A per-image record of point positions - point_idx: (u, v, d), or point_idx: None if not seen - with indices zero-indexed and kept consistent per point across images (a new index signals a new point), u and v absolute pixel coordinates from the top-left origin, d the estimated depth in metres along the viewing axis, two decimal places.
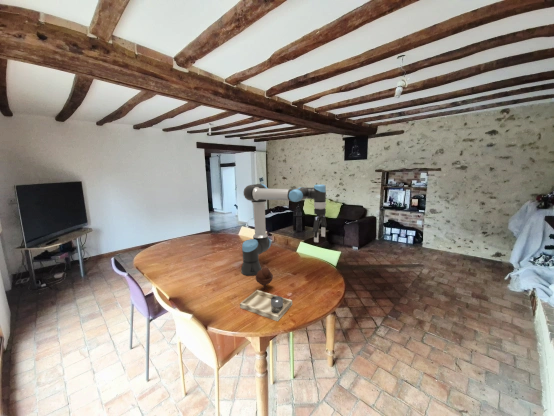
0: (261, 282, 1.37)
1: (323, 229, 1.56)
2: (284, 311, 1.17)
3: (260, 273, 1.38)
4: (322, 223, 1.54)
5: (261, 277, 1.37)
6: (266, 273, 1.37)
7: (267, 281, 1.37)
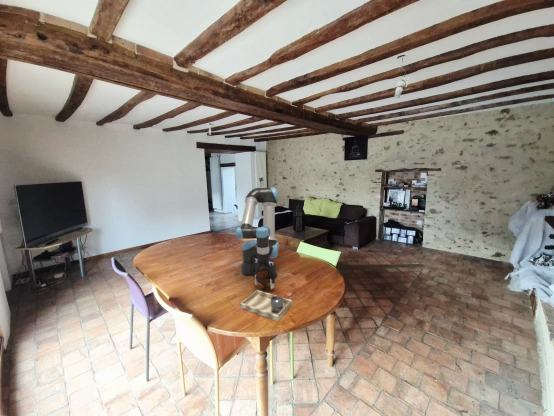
0: (261, 282, 1.37)
1: None
2: (284, 311, 1.17)
3: (260, 273, 1.38)
4: None
5: (261, 277, 1.37)
6: (266, 273, 1.37)
7: (267, 281, 1.37)
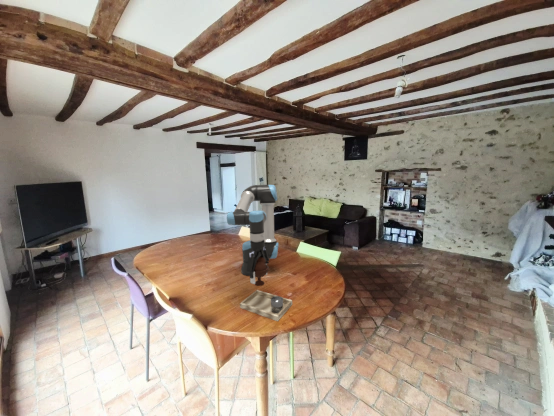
0: (267, 271, 1.21)
1: None
2: (284, 311, 1.17)
3: (262, 263, 1.20)
4: None
5: (265, 266, 1.21)
6: None
7: None
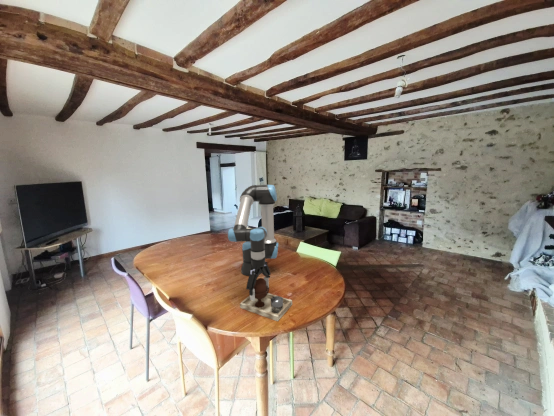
0: (267, 292, 1.23)
1: (266, 280, 1.29)
2: (284, 311, 1.17)
3: (263, 285, 1.21)
4: (264, 273, 1.27)
5: (266, 287, 1.22)
6: (265, 281, 1.25)
7: None
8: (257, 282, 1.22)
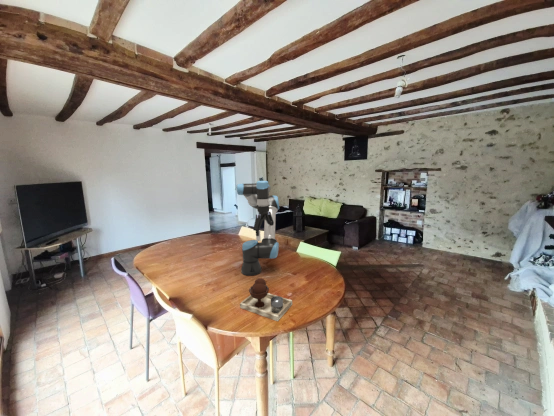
0: (267, 293, 1.23)
1: (269, 227, 1.50)
2: (284, 311, 1.17)
3: (263, 285, 1.21)
4: (268, 221, 1.48)
5: (266, 288, 1.22)
6: (265, 281, 1.25)
7: None
8: (257, 282, 1.22)
